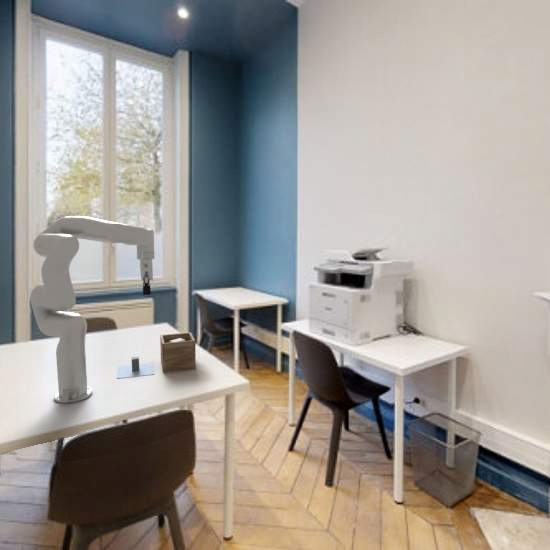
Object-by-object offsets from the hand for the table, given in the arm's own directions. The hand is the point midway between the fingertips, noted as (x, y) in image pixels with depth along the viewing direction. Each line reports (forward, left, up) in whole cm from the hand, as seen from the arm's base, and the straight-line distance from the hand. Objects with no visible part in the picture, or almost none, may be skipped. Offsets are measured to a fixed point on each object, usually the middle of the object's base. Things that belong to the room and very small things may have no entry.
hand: (146, 293), depth 179 cm
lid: (-11, +6, -33) cm, 35 cm away
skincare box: (-11, -12, -33) cm, 36 cm away
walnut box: (-11, -12, -32) cm, 36 cm away
